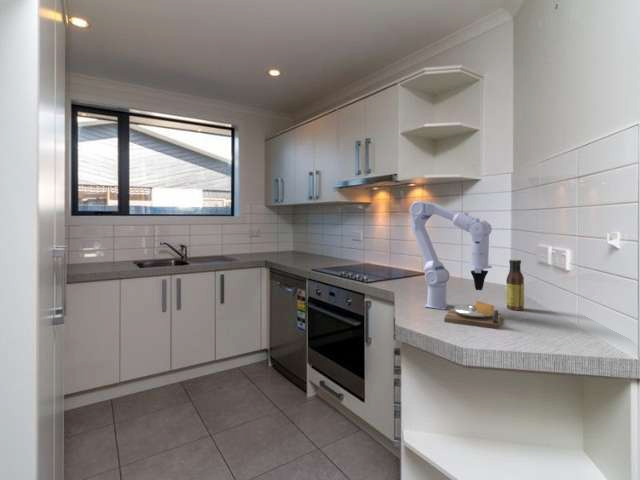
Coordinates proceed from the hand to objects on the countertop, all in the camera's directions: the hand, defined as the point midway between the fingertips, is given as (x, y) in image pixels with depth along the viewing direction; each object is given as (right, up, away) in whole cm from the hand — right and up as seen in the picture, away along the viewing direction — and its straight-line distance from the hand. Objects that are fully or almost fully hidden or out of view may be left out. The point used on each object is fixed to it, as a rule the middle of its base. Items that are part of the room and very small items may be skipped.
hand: (478, 289), depth 131 cm
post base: (-5, -10, -6) cm, 12 cm away
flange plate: (-5, -7, -6) cm, 11 cm away
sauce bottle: (+19, -9, +10) cm, 23 cm away
